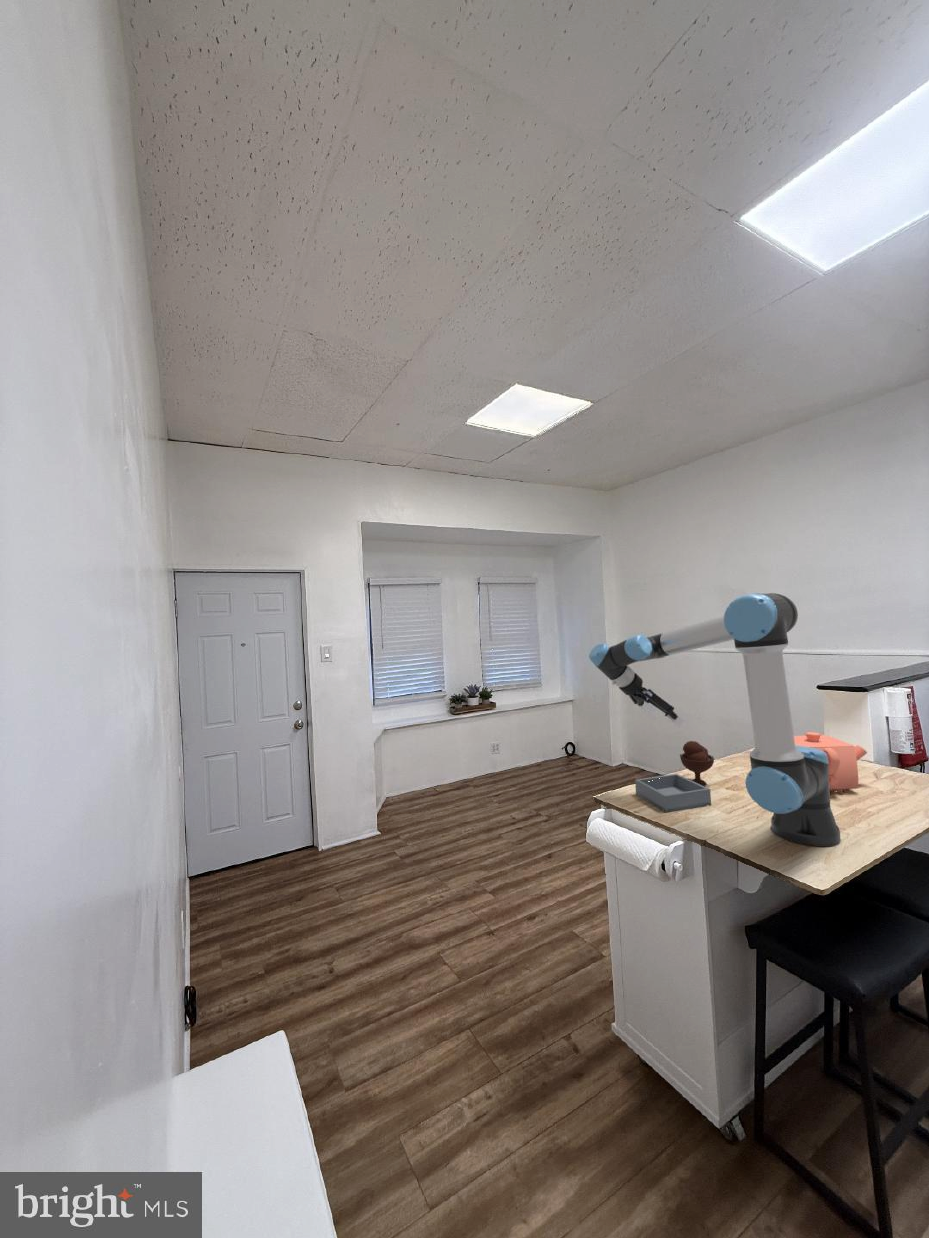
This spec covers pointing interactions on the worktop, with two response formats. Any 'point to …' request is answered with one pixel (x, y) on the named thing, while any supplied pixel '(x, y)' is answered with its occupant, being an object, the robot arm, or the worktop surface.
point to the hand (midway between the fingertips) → (667, 719)
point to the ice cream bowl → (696, 760)
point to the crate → (673, 792)
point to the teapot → (836, 759)
